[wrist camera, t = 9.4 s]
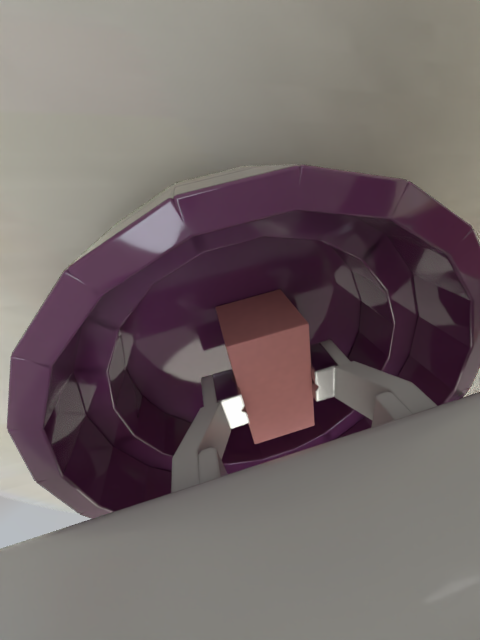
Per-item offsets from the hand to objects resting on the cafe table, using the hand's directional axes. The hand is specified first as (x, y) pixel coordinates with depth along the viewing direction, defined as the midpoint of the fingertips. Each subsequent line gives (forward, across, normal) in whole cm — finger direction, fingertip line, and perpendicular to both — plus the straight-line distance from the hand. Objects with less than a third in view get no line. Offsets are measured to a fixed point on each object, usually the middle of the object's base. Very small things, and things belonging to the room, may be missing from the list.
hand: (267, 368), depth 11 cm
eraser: (+2, 0, 0) cm, 2 cm away
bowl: (+2, 0, 0) cm, 3 cm away
